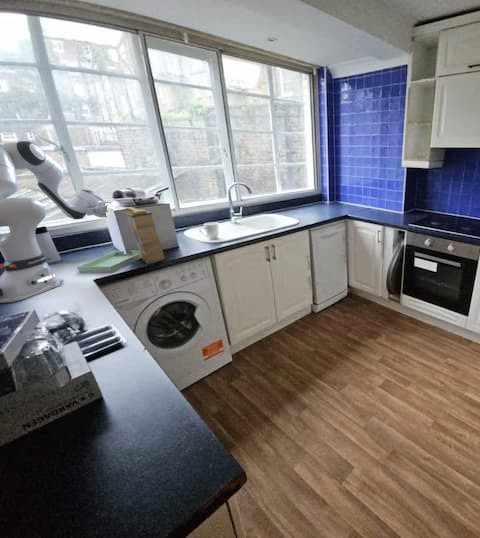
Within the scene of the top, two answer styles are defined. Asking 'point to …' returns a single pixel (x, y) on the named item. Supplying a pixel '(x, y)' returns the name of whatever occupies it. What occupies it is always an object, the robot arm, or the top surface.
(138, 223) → the key stand
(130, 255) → the tray
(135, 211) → the key
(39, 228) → the travel mug
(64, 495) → the top surface
